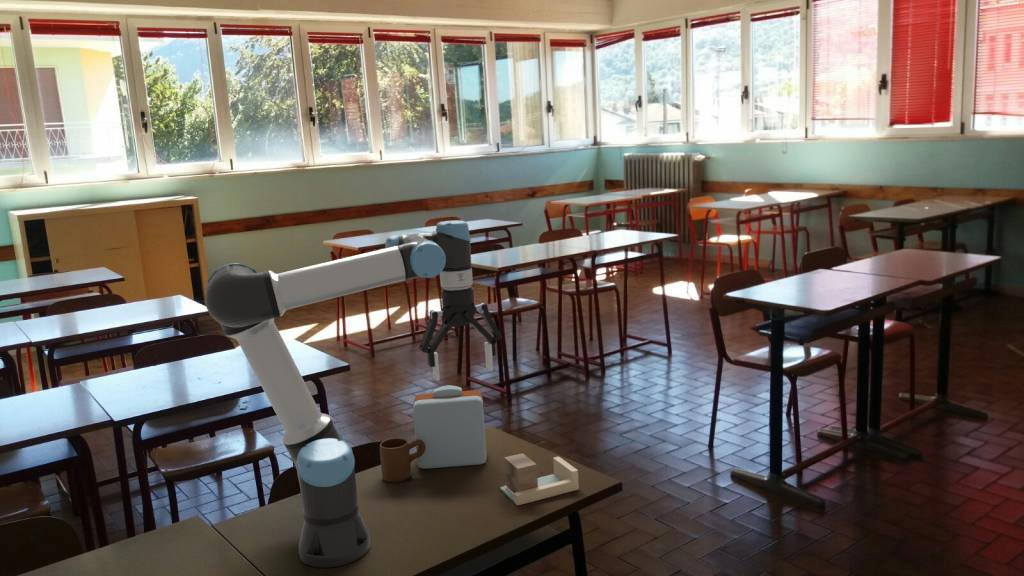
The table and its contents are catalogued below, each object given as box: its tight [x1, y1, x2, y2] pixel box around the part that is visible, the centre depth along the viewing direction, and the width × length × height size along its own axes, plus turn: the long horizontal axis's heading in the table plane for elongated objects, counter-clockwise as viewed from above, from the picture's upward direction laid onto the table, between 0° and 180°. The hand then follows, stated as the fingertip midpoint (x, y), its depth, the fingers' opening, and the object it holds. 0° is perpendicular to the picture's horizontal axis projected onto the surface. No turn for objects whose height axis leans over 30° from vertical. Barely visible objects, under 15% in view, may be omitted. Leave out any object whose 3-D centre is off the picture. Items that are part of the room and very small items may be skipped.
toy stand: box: [499, 456, 580, 506], centre depth 200 cm, size 17×10×5 cm, turn 114°
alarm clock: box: [412, 384, 488, 469], centre depth 219 cm, size 18×9×21 cm, turn 93°
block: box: [504, 453, 539, 493], centre depth 198 cm, size 8×5×8 cm, turn 24°
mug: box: [379, 437, 425, 483], centre depth 212 cm, size 12×8×9 cm, turn 112°
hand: (463, 374), depth 194 cm, fingers open, 13 cm apart
